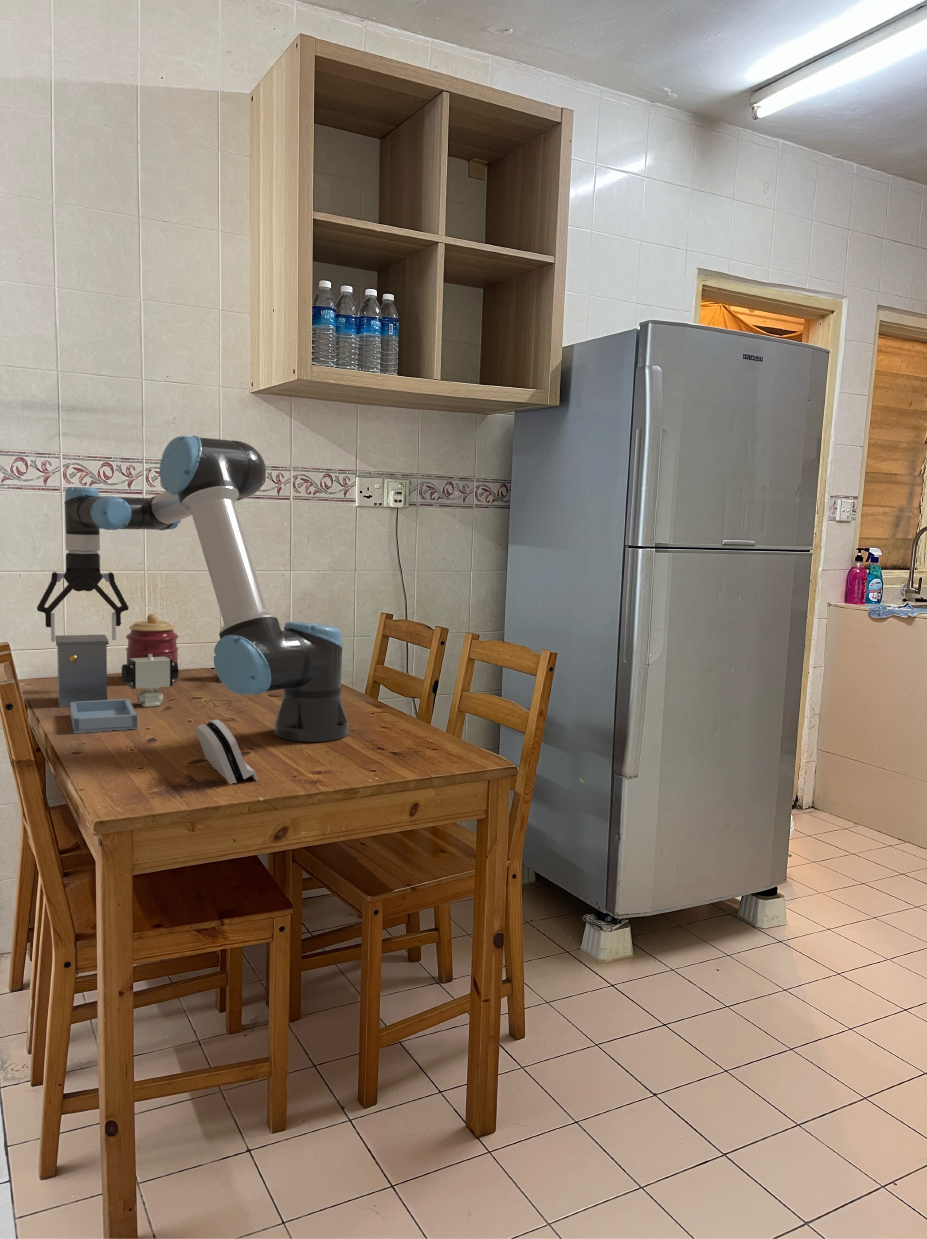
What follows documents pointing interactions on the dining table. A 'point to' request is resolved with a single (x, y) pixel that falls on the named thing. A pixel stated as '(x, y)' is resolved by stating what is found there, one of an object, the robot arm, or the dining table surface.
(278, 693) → the dining table surface
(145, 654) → the canister
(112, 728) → the tray
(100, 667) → the box
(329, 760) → the dining table surface
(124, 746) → the dining table surface
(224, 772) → the grey curved fin
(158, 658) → the pneumatic valve
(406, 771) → the dining table surface
